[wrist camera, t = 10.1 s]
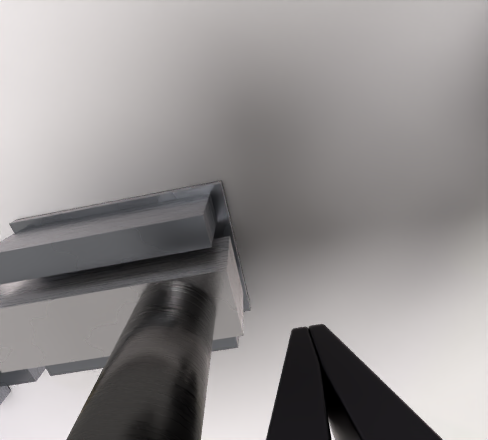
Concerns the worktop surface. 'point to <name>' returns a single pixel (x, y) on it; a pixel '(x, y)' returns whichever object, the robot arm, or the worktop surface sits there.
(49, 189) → the worktop surface
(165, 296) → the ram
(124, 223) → the frame
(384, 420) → the robot arm
